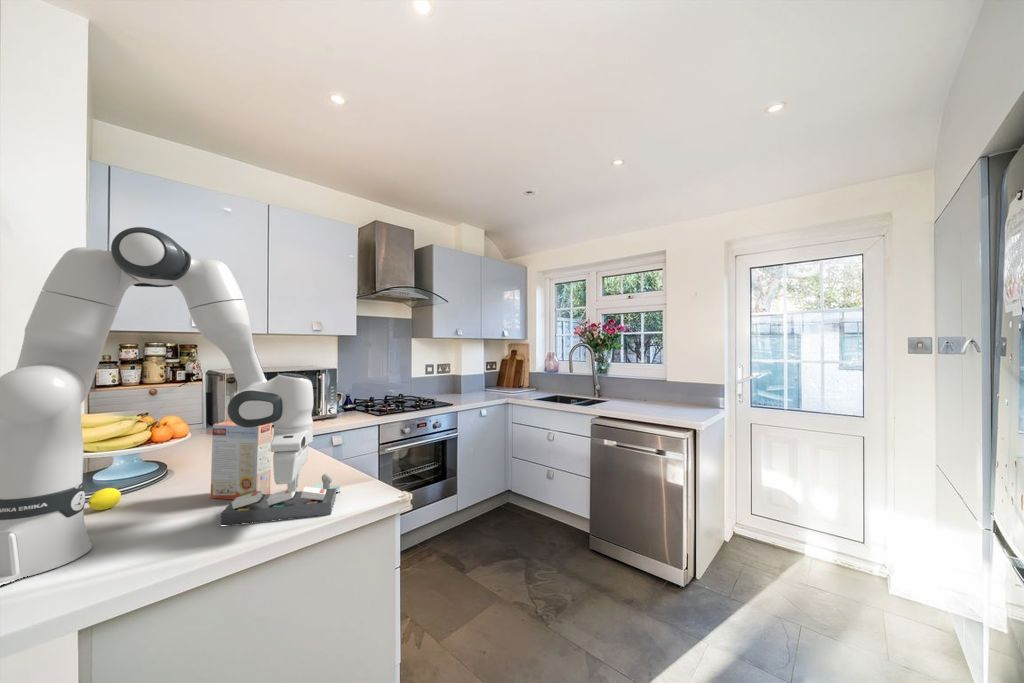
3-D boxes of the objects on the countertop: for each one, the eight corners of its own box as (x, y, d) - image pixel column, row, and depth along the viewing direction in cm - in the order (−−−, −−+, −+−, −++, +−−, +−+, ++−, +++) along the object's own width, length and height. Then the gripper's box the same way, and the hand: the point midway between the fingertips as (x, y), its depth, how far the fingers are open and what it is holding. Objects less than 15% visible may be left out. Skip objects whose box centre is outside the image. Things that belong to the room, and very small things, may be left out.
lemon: (107, 505, 102) (111, 484, 103) (126, 506, 102) (130, 485, 103) (77, 513, 96) (81, 491, 96) (97, 514, 95) (101, 491, 96)
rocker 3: (300, 497, 98) (302, 490, 98) (303, 492, 101) (305, 485, 101) (323, 500, 99) (325, 493, 99) (325, 495, 103) (326, 488, 103)
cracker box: (271, 493, 112) (273, 421, 112) (255, 501, 106) (257, 425, 106) (227, 490, 113) (229, 419, 114) (209, 498, 107) (211, 423, 108)
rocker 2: (268, 505, 95) (266, 499, 95) (272, 500, 99) (270, 493, 99) (292, 498, 97) (290, 491, 97) (295, 493, 100) (293, 486, 100)
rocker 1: (233, 509, 93) (231, 502, 93) (238, 503, 96) (236, 497, 96) (258, 501, 95) (256, 494, 95) (262, 496, 98) (260, 489, 98)
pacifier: (322, 489, 116) (310, 496, 110) (323, 468, 117) (311, 474, 111) (345, 490, 116) (334, 497, 110) (346, 469, 116) (335, 475, 110)
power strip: (220, 526, 91) (221, 510, 91) (236, 509, 101) (236, 494, 101) (330, 514, 99) (331, 499, 99) (335, 499, 108) (336, 486, 108)
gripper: (289, 428, 108) (288, 477, 108) (268, 446, 88) (267, 506, 88) (314, 426, 110) (313, 475, 110) (299, 445, 90) (297, 503, 90)
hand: (292, 489), depth 99 cm, fingers closed, pressing on rocker 2
